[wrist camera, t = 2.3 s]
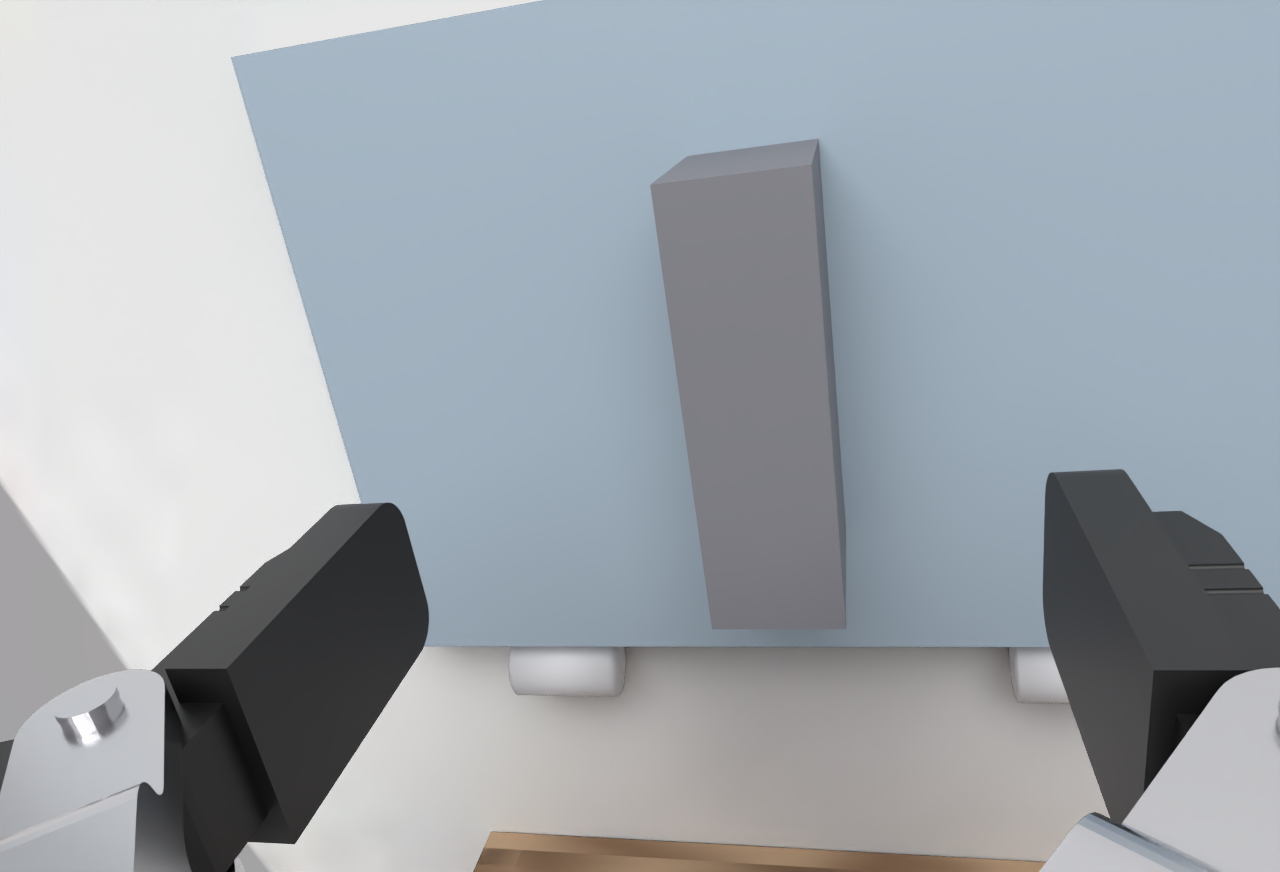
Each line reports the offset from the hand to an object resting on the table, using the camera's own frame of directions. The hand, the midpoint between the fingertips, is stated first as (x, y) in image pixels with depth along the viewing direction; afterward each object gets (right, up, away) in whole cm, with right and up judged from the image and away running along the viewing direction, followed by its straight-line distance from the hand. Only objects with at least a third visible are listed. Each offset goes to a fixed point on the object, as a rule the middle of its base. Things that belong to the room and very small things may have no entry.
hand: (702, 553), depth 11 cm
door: (+2, +4, +8) cm, 9 cm away
